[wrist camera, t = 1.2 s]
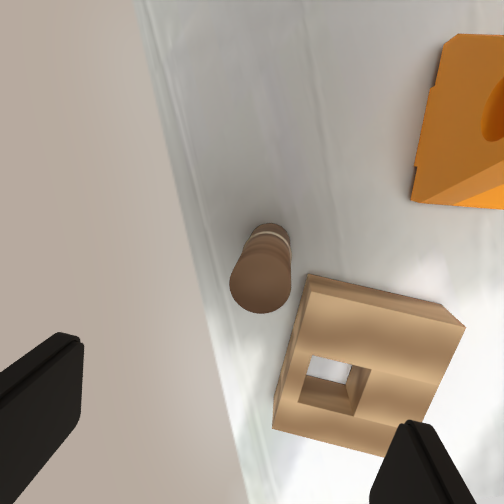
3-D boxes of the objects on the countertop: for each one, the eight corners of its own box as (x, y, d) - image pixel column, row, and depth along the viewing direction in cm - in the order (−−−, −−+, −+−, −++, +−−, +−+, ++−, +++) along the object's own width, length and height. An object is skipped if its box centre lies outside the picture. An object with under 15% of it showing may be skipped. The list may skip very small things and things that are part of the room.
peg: (253, 217, 27) (234, 247, 17) (295, 227, 27) (300, 262, 17) (244, 258, 28) (222, 306, 18) (285, 267, 28) (284, 321, 18)
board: (307, 273, 28) (311, 291, 24) (441, 304, 27) (466, 327, 23) (273, 396, 32) (272, 428, 28) (388, 425, 31) (403, 462, 27)
